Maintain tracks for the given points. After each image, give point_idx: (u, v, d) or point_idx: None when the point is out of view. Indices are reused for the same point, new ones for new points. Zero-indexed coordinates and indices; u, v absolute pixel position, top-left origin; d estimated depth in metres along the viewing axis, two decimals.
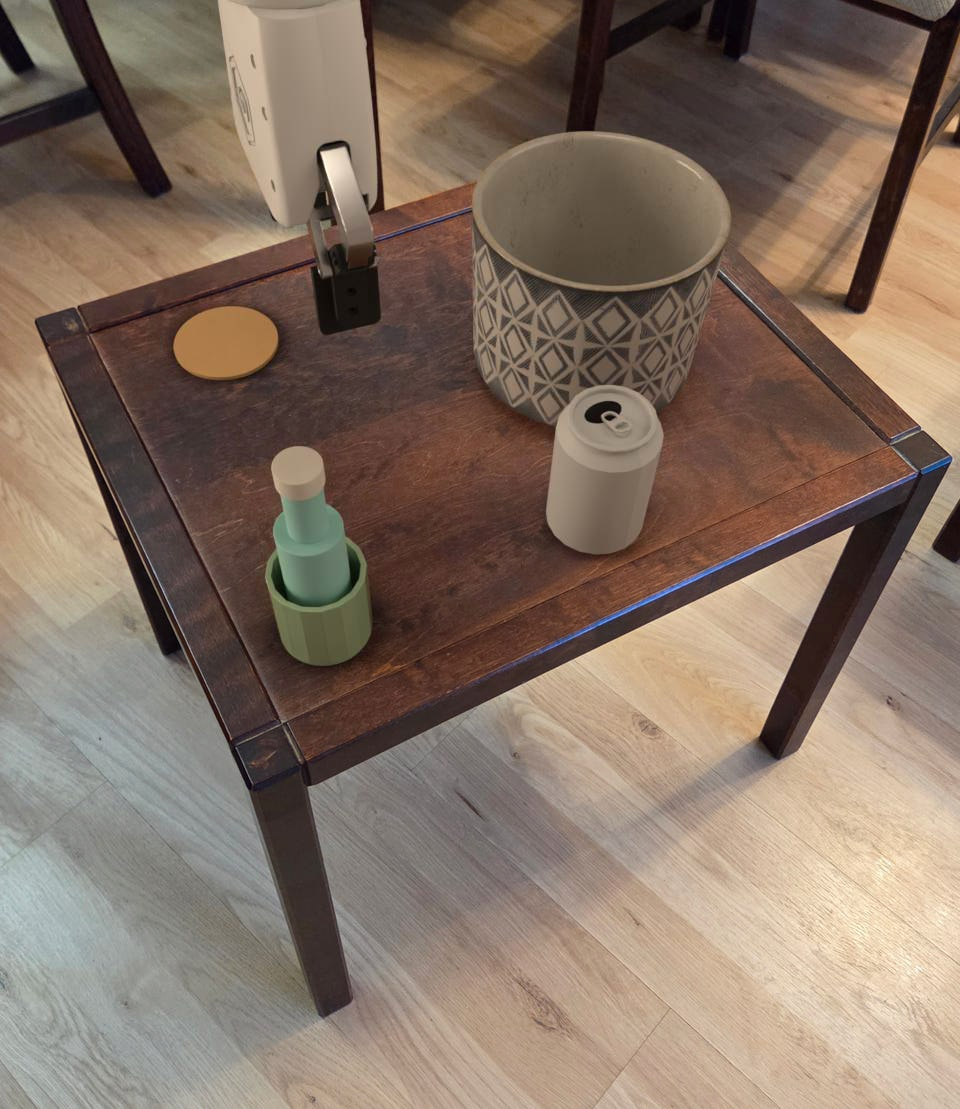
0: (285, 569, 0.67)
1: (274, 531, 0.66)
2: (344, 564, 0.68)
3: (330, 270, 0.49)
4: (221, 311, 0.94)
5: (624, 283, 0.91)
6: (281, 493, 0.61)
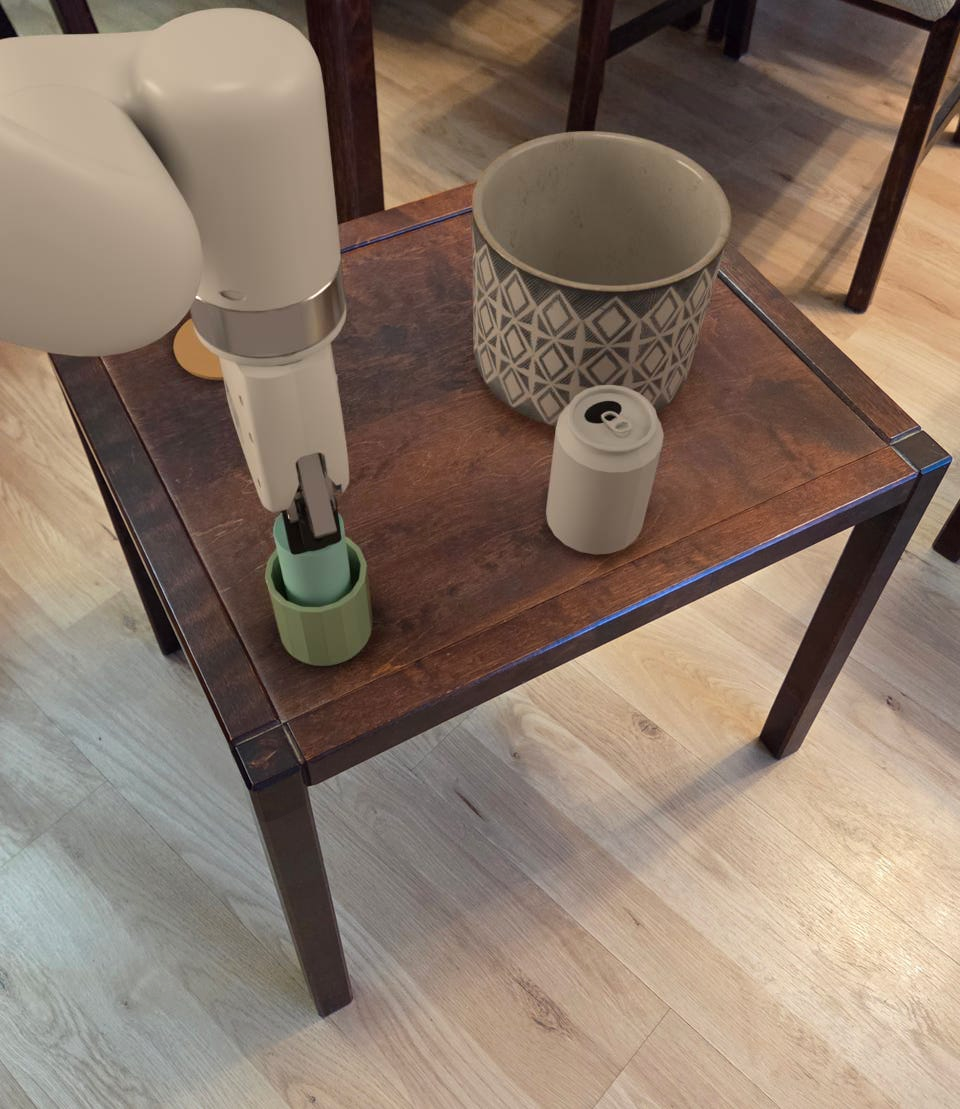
0: (285, 569, 0.67)
1: (274, 531, 0.66)
2: (344, 564, 0.68)
3: (297, 517, 0.60)
4: None
5: (624, 283, 0.91)
6: None
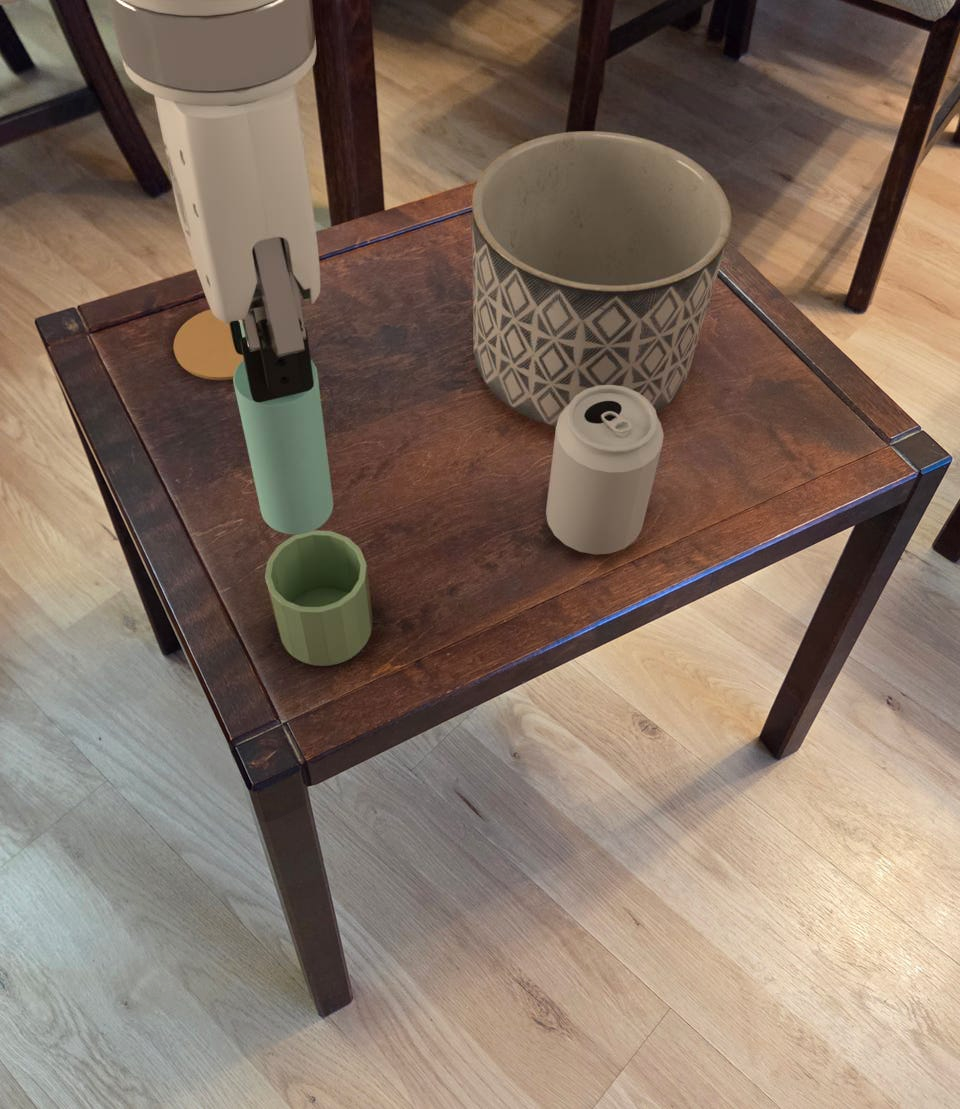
0: (248, 427, 0.57)
1: (234, 379, 0.55)
2: (318, 424, 0.58)
3: (258, 343, 0.49)
4: None
5: (624, 283, 0.91)
6: (241, 320, 0.51)
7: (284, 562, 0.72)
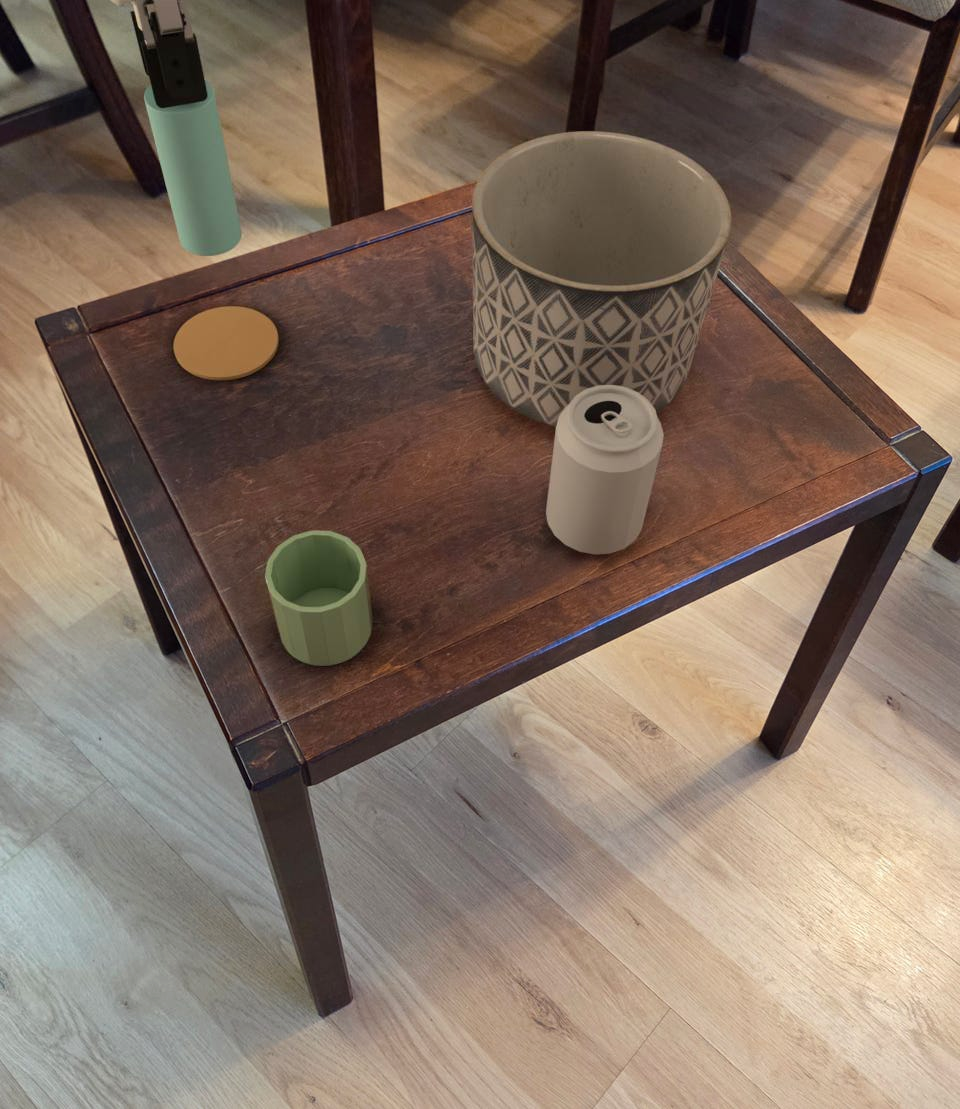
0: (158, 140, 0.68)
1: (145, 95, 0.67)
2: (218, 142, 0.69)
3: (153, 40, 0.61)
4: (221, 311, 0.94)
5: (624, 283, 0.91)
6: None
7: (284, 562, 0.72)
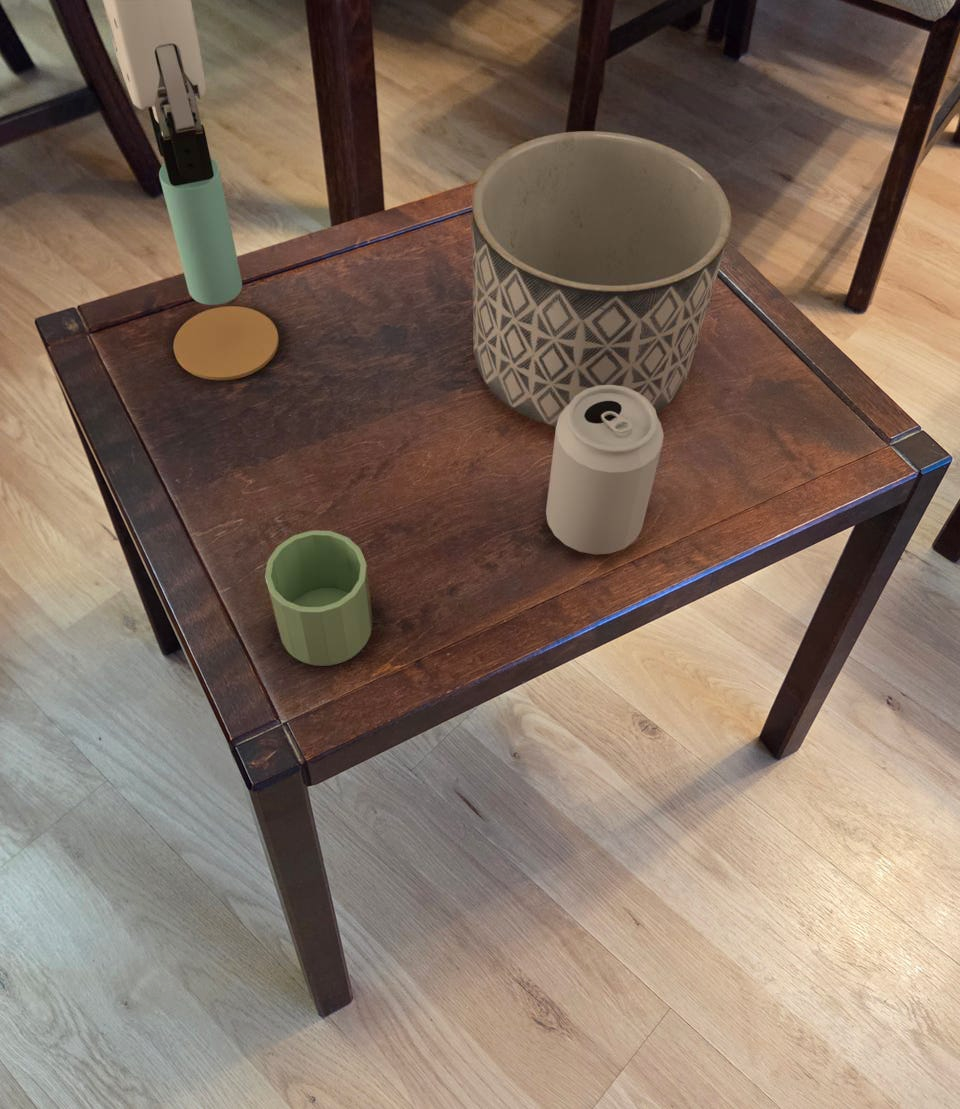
0: (171, 210, 0.79)
1: (160, 173, 0.78)
2: (222, 210, 0.80)
3: (168, 133, 0.72)
4: (221, 311, 0.94)
5: (624, 283, 0.91)
6: None
7: (284, 562, 0.72)
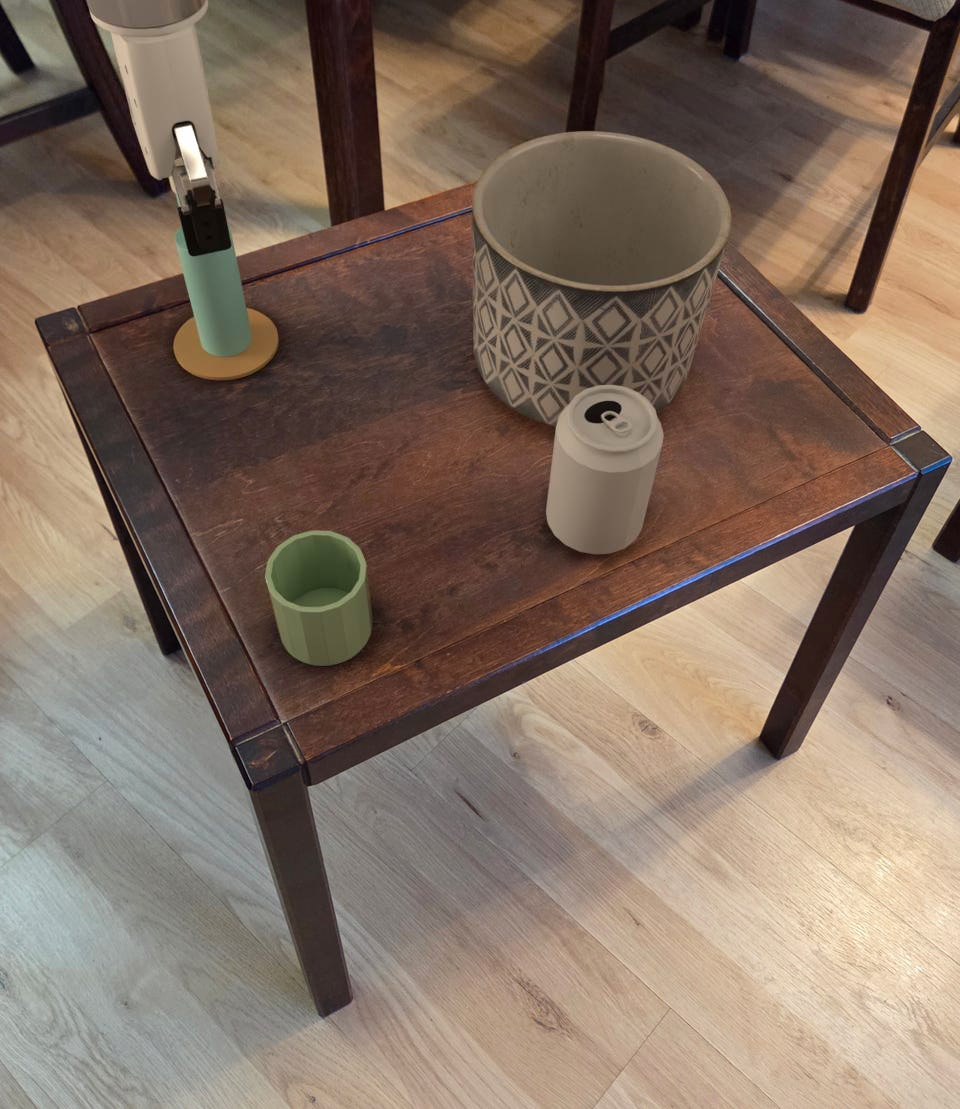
0: (185, 271, 0.84)
1: (175, 237, 0.83)
2: (234, 271, 0.85)
3: (188, 208, 0.74)
4: None
5: (624, 283, 0.91)
6: (175, 191, 0.78)
7: (284, 562, 0.72)
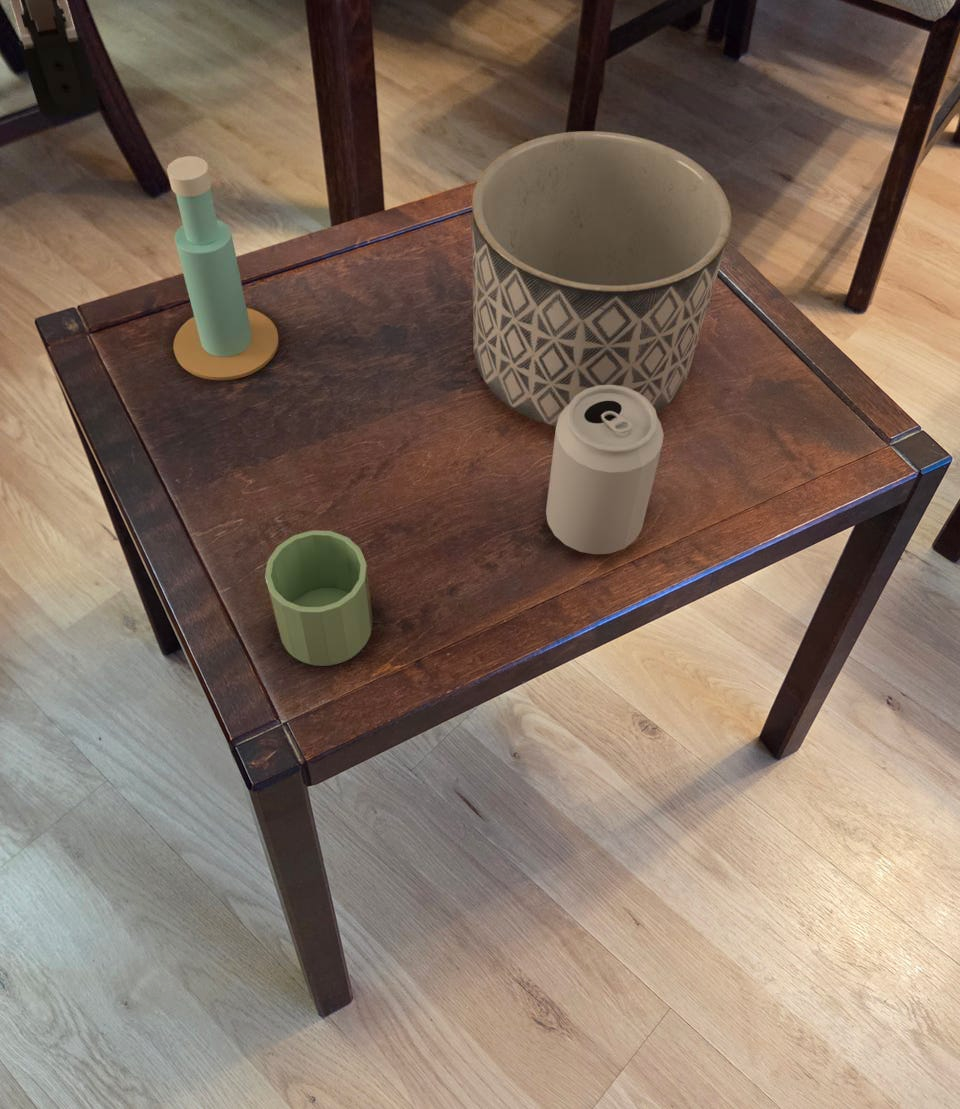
0: (185, 271, 0.84)
1: (175, 237, 0.83)
2: (234, 271, 0.85)
3: (30, 39, 0.54)
4: None
5: (624, 283, 0.91)
6: (175, 191, 0.78)
7: (284, 562, 0.72)
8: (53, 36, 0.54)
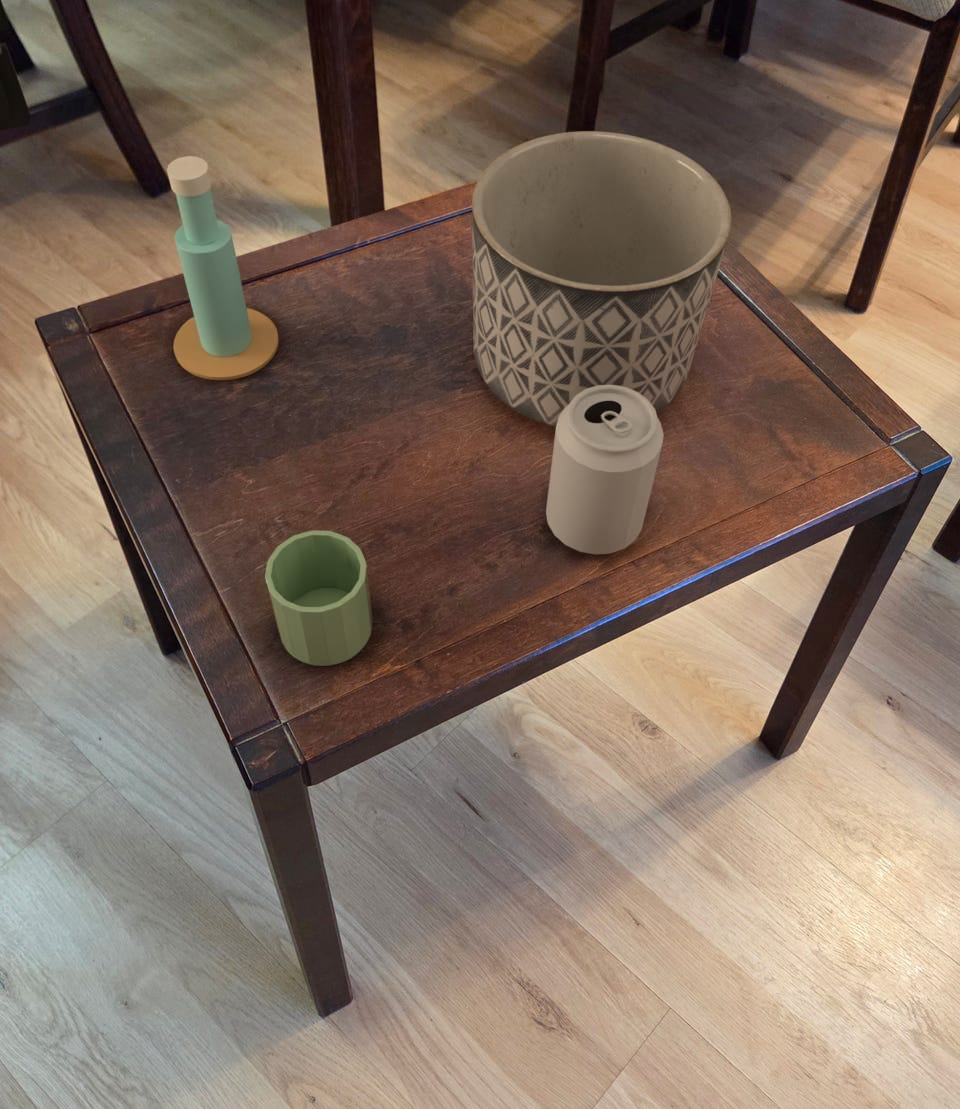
0: (185, 271, 0.84)
1: (175, 237, 0.83)
2: (234, 271, 0.85)
3: None
4: None
5: (624, 283, 0.91)
6: (175, 191, 0.78)
7: (284, 562, 0.72)
8: None
